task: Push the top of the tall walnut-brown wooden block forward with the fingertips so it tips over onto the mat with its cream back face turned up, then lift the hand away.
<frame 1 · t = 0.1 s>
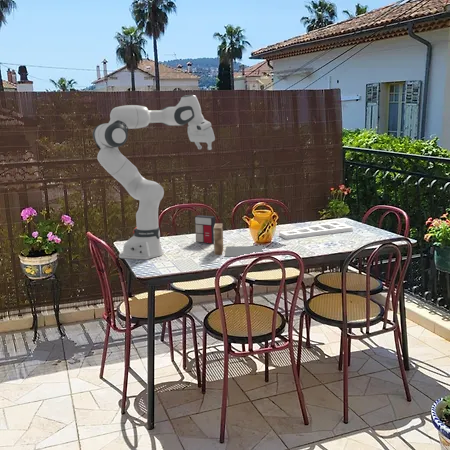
hand: (205, 149, 255), 52 cm above the table, tool tilted 20°, fingers open, 8 cm apart
tall block: (218, 251, 247), on the table
grey and red box: (205, 242, 266), on the table
holder: (312, 232, 285), on the table
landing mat: (245, 251, 246), on the table
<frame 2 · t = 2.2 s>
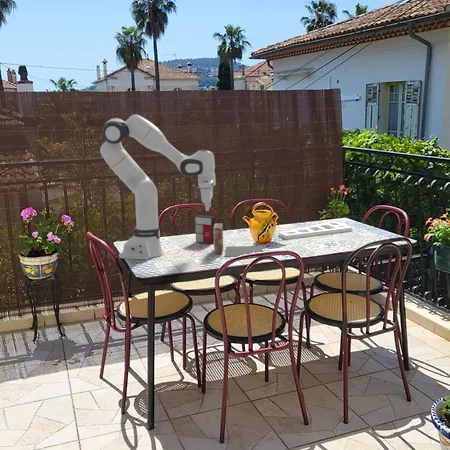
hand: (208, 208, 242), 23 cm above the table, tool pointing down, fingers open, 8 cm apart
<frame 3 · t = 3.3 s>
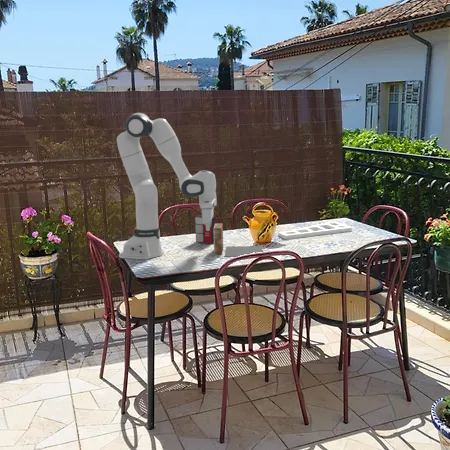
hand: (208, 228, 244), 13 cm above the table, tool pointing down, fingers open, 8 cm apart
nothing on the table moved.
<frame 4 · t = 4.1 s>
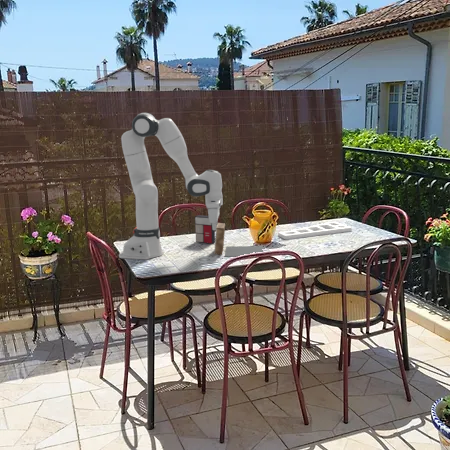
hand: (215, 227, 244), 13 cm above the table, tool pointing down, fingers open, 8 cm apart
tall block: (218, 251, 247), on the table, tilted 6°, touching gripper
everything else where it was.
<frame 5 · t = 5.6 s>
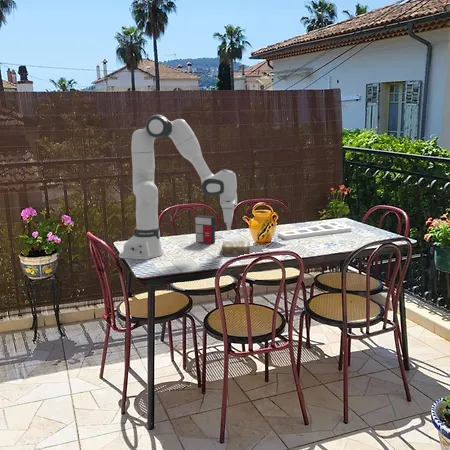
hand: (229, 227, 244), 13 cm above the table, tool pointing down, fingers open, 8 cm apart
tall block: (222, 247, 246), point 2 cm above the table, tilted 90°, touching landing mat
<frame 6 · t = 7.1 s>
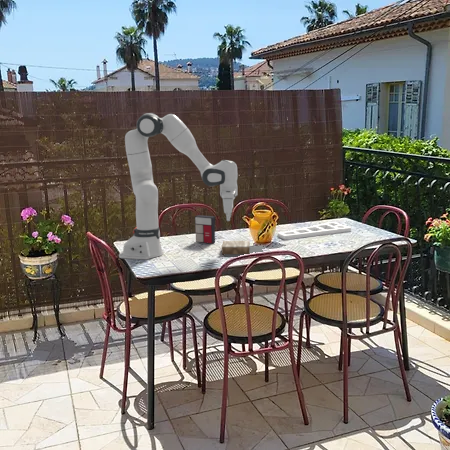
hand: (228, 218, 243), 18 cm above the table, tool pointing down, fingers open, 8 cm apart
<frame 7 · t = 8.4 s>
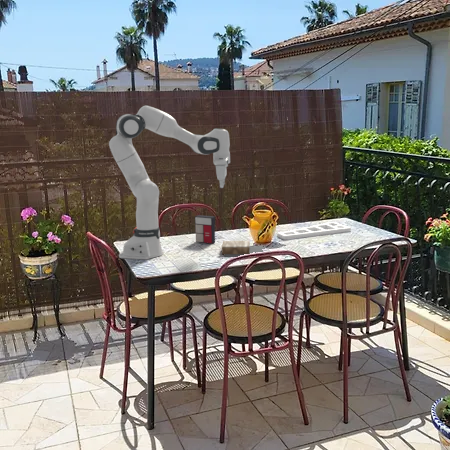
hand: (222, 186, 249), 33 cm above the table, tool pointing down, fingers open, 8 cm apart
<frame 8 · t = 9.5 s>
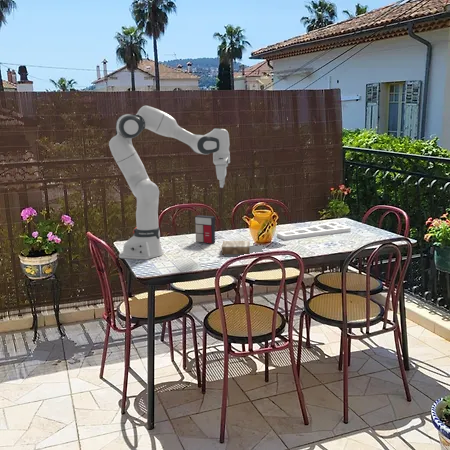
hand: (222, 186, 249), 33 cm above the table, tool pointing down, fingers open, 8 cm apart
at the end: tall block tilted 90°; tall block touching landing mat; the gripper is holding nothing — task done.
